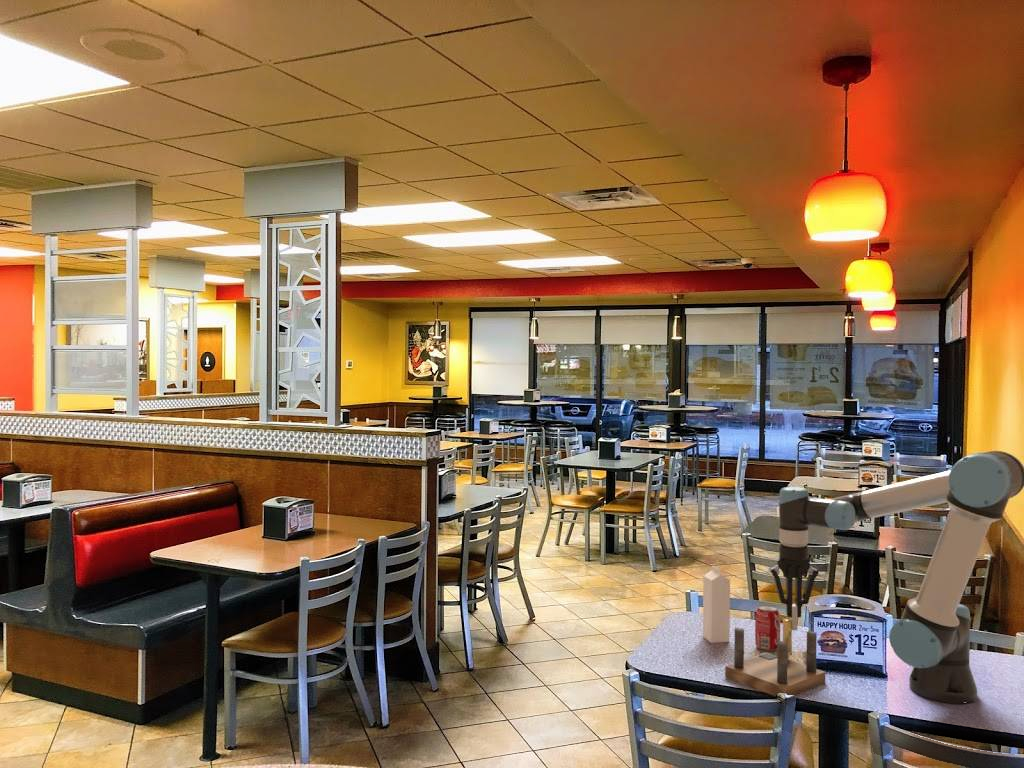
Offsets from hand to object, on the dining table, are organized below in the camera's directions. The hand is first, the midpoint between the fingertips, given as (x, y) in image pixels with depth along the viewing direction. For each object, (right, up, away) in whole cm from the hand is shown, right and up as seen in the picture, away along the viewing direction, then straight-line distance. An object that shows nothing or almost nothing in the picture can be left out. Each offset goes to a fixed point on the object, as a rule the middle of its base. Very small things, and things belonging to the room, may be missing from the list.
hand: (793, 628), depth 216 cm
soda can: (-2, -11, +15) cm, 19 cm away
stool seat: (-9, -11, -10) cm, 17 cm away
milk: (-16, -11, +22) cm, 29 cm away
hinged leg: (-3, -7, -2) cm, 8 cm away
